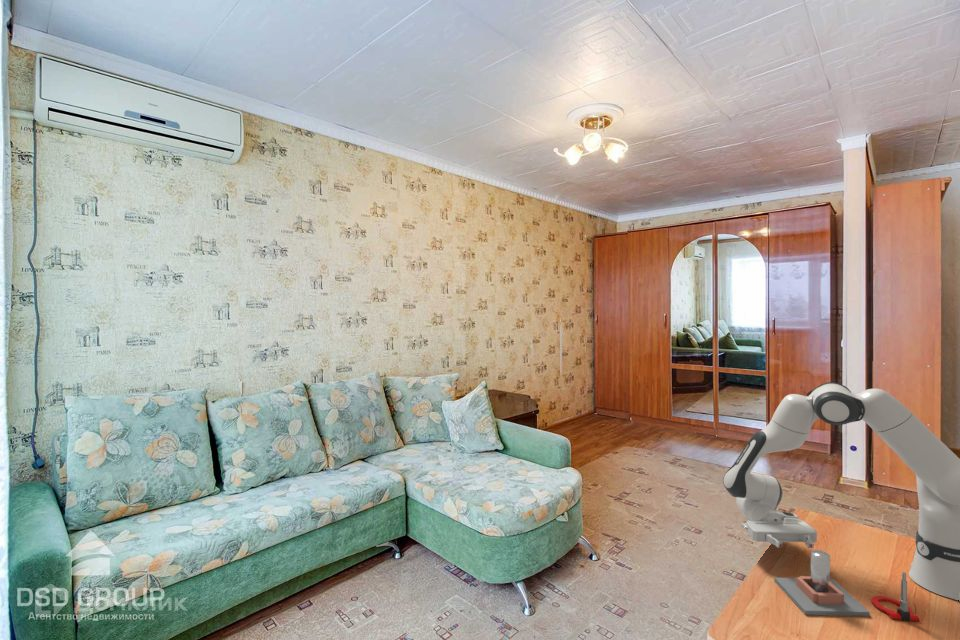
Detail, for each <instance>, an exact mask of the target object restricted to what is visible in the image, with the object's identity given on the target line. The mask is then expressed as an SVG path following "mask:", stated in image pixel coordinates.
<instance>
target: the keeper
mask: <svg viewBox="0 0 960 640" xmlns="http://www.w3.org/2000/svg"><path fill="white" fill-rule="evenodd" d="M773 579H774V582H775V584H776V585H777V586H778V588H780V589H781V590H782V591H783V593H785V595H787V597H788V598H789V599H790V600H791V601H792V602H793V603H794V605H795V606H796V607H797V608H798V609H799V610H800V611H801V612H802V613H803V614H804V616H805V615H806V616H807V615H808V616H836V617H837V616H841V617H843V616H844V617H845V616H846V617H848V616H849V617H850V616H851V617H870V616H871V615H870V614H871V613H870V612H871V611H869V610H868V609H867V608H866V607H865V606H864V605H863V604H862V603H860V602H859V600H857V599H856V598H855V597H854V596H852V595H851V594H850V593H849V592H848V591H847V590H846V589H845V588H843V586H842V585H840V584H839V583H838V582H837V581H835V579H833V578H829V593H816V592H815V591H814V590H813V589H812V588H811V587H810V575H808V576H807V575H799V577H798V576H797V577H774V578H773Z"/></svg>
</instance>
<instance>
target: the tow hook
mask: <svg viewBox="0 0 960 640" xmlns="http://www.w3.org/2000/svg"><path fill="white" fill-rule="evenodd" d="M901 577H902V578H901V579H900V599H895V598H894V597H893V598H892V597H889V596H886V595H885V596H884V595H874V596H872V597H871V599H870V600H871V603H872V606H874V607H875V608H876V609H878V610H880V611H881V612H883V613H885V614H887V616H888V617H889V619H891V620H900V621H907V622H908V621H913V622H915V621H916V622H920V617H919V615H918V614H914V612H913V610H912V609H911V607H909V602H908V581H907V572H904V571H902V572H901ZM881 602H887V603H890V604H893V605H896V606H898V607H897V609H896V610H897V611H894V610H893V609H889V608H887V607H886V606H883V605H882V604H881Z"/></svg>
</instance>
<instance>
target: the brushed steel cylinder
mask: <svg viewBox="0 0 960 640" xmlns="http://www.w3.org/2000/svg"><path fill="white" fill-rule="evenodd" d="M830 572H831V555H830V554H829V553H828V552H826V551H823V550H820V549H812V550H811V551H810V575H809V576H810V587H811V588H812V589H813V590H814V591H815V592H816V593H829V579H831V577H830V576H831V575H830Z"/></svg>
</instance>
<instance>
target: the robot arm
mask: <svg viewBox="0 0 960 640" xmlns="http://www.w3.org/2000/svg"><path fill="white" fill-rule="evenodd" d="M819 419H820V420H821V421H823V422H824V423H827V424H829V425H832V426H842V425H846V424H851V423H856V422H860V421H863V422H864V423H866V425H868V427H870V428H871V429H872V431H873V432H874V433H875V434H877V435H878V436H879V438H880V439H881V440H882V441H883V442H884V443H885V444H886V445H887V446H888V447H889V448H890V449H891V450H892V451H893V452H894V453H895V454H896V455H897V456H898V458H900V459H901V461H903V462H904V463H905V465H906V466H907V467H908V468H909V469H910V470H911V471H912V472H913V473H914V474H915V476H916V477H915V478H916V479H915V480H916V489H917V491H916V492H917V499H918V530H916V533H915V546H916V547H915V551H914V556H913V560H912V562H911V564H910V569H909V571H908V576H909V578H910V579H911V580H912V581H913V582H915V583H916V585H918V586H921V587H922V588H924V589H926V590H928V591H929V592H931V593H934V594H937V595H940V596H941V597H945V598H948V599H949V598H950V599H952V600H956V601H958V600H959V601H958V602H960V457H958V455H956V453H954V452H953V451H952V449H950V448H949V447H948V446H947V445H946V443H944V442H943V441H942V440H941V439H940V438H939V437H937V435H936V434H934V433H933V432H932V431H931V429H929V427H927V426H926V425H925V424H924V423H923V422H922V421H921V420H920V419H919V418H918V417H917V416H916V415H915V414H914V413H913V412H912V411H911V410H910V409H908V407H906V406H905V404H903V403H902V402H901V401H900V400H899V399H897V398H896V397H895V396H893V395H891V394H890V393H888V392H887V391H886V390H884V389H881V388H868V389H864V390H862V391H861V392H852V391H851V390H850V389H849V388H848V387H847V386H845V385H843V384H842V383H838V382H835V381H830V382H829V381H828V382H824V383H821V384H820V385H818V386H816V387H814V388H813V389H812V390H810V391H808V392H807V393H806V395H803V394H797V393H789V394H787V395H786V396H784V397H783V398H782V399H781V401H780V402H779V404H778V406H777V407H776V409H775V411H774V413H773V415H772V418H771V419H770V421H769V423H767V425H766V426H764V428H763V429H761V430H760V431H758V432H754V434H752V436H751V437H750V439H749V440H748V442H747V443H746V445H744V447H743V449H742V451H741V452H740V453H739V456H737V459H736V460H735V461H734V463H733V464H732V466H731V467H729V469H727V470H726V472H725V473H724V476H723V479H722V480H723V481H722V482H723V483H722V484H723V486H724V488H725V490H726V491H727V492H728V494H730V495H731V497H734V498H735V502H736V506H737V507H738V510H739V512H740V513H741V514H742V515H743V516H744V517H745V518H746V519H747V520H745V521H744V520H743V522H741V524H740V525H741V527H743V529H745V531H746V533H747V534H748V536H749V537H750V539H752V540H753V541H755V542H761V543H762V542H767V543H769V544H771V545H774V546H775V547H776V548H783V544H784V543H805V547H807V548H808V549H814V548H815V543H816V542H817V541H818V532H817V530H816V529H815V528H814V527H813V526H812V525H810V524H808V523H807V522H806V521H804V520H802V519H800V518H799V516H798V515H797V514H796V513H793V512H792V513H791V512H786V511H781V510H778V509H777V507H778V506H779V504H781V501H782V498H783V489H782V485H781V483H780V482H779V480H778V479H777V478H776V477H775V476H774V475H769V474H763V473H760V472H754V471H752V470H753V469H754V467H755V466H756V465H757V464H758V461H759V459H761V458H762V457H763V456H765V455H767V454H770V453H777V452H789V451H794V450H796V449H799V448H801V446H803V444H804V443H805V442H806V440H807V438H808V435H809V433H810V431H811V428H812V426H813V425H814V424H815V422H816V421H818V420H819Z"/></svg>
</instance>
